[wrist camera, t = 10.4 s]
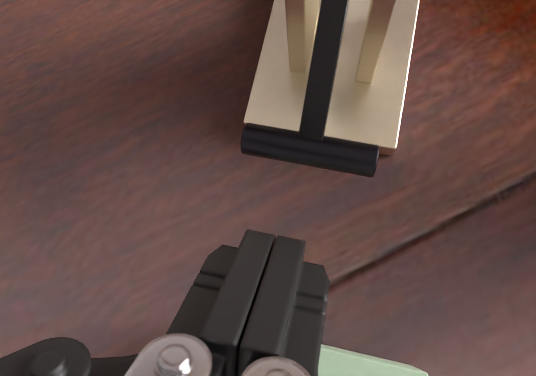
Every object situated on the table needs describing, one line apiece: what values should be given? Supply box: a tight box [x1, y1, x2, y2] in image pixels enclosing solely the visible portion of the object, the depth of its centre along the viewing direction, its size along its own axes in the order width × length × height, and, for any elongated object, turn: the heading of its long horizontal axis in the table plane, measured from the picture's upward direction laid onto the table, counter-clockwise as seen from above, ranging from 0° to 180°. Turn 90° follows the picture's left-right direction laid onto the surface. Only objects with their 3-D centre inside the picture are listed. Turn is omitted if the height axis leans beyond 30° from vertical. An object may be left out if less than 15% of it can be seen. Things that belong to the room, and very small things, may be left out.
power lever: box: [241, 0, 379, 177], centre depth 19 cm, size 12×6×2 cm, turn 168°
